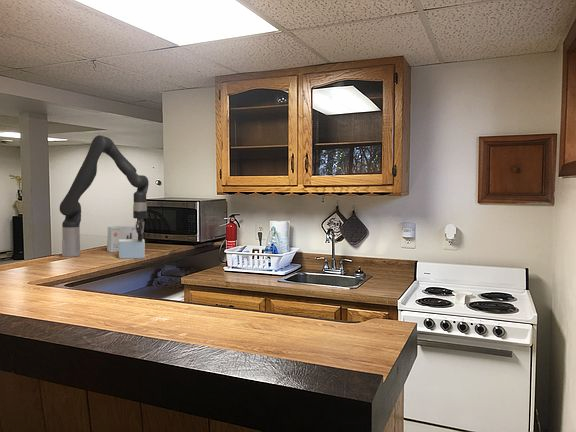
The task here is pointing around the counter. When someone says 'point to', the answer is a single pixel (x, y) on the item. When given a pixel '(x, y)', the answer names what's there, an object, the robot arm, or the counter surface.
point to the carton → (132, 240)
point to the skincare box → (119, 236)
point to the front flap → (131, 249)
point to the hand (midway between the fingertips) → (140, 239)
